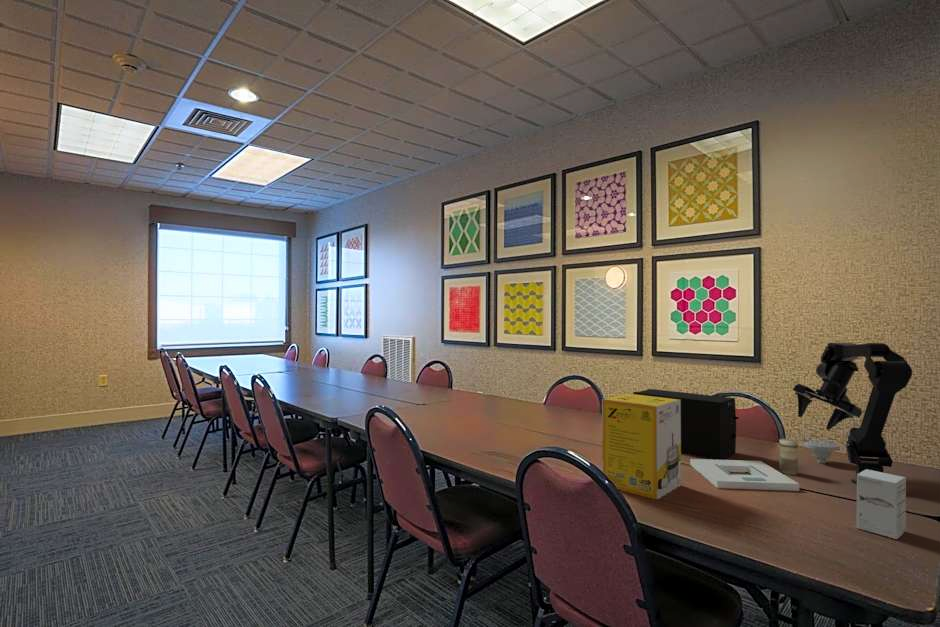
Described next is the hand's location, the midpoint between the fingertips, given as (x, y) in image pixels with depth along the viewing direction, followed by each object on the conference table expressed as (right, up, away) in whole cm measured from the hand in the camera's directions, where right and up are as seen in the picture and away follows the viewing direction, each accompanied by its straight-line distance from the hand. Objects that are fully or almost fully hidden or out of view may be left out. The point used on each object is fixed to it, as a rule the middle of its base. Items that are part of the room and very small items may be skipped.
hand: (813, 423), depth 155 cm
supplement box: (-17, -14, -46) cm, 51 cm away
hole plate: (-28, -15, -8) cm, 33 cm away
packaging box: (-61, -15, -16) cm, 65 cm away
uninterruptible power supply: (-31, -15, +24) cm, 42 cm away
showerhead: (+8, -15, +7) cm, 18 cm away
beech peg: (-11, -15, -4) cm, 19 cm away
